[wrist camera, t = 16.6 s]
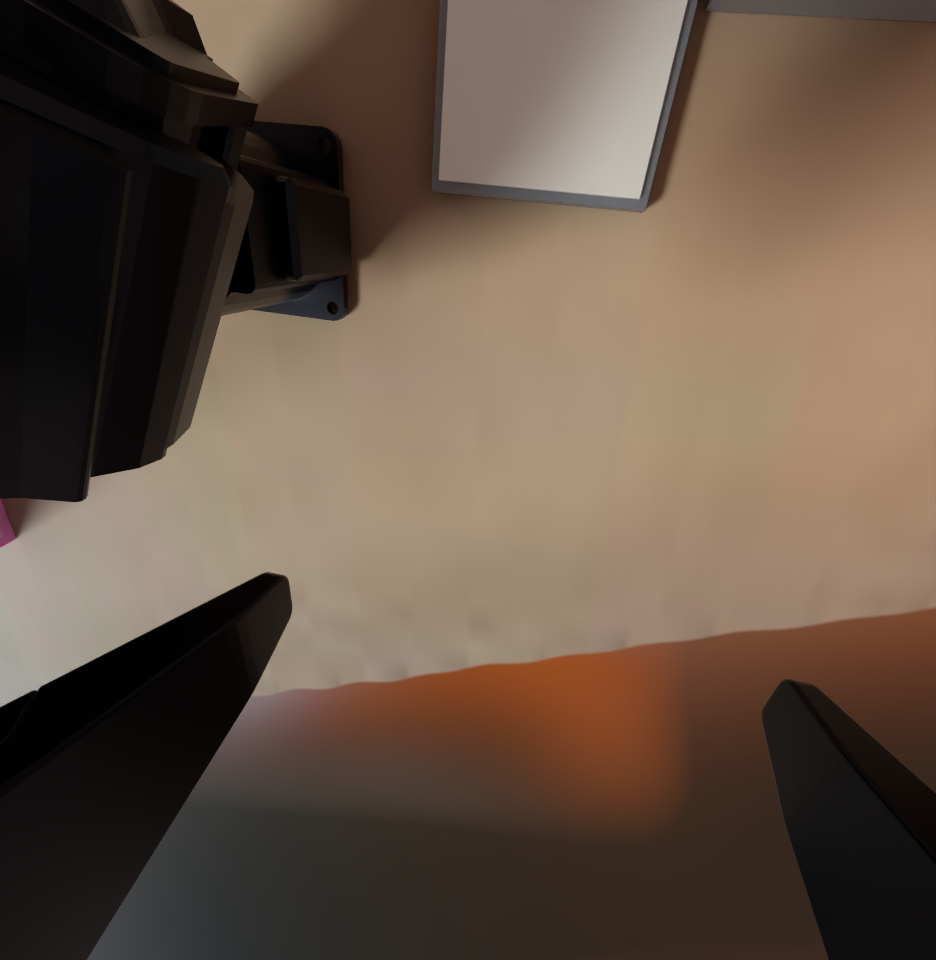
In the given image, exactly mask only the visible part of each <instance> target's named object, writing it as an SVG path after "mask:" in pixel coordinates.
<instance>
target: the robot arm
mask: <svg viewBox="0 0 936 960" xmlns="http://www.w3.org/2000/svg"><path fill="white" fill-rule="evenodd" d="M212 61H213V59H212V58H210V57H209V56H208V55H207V54H206V51H205V48H204V46H203V43H202V40H201V37H200V35H199V32H198V29H197V27H196V24H195V21H194V18H193V16H192V15H191V14H190V13H188V12H187V11H186V10H184V9H183V8H182V7H180V6H179V5H177V4H176V3H175V2H173V1H172V0H0V499H1V498H31V499H43V500H55V501H67V502H79V501H83V500H84V499H86V497H87V496H88V489H89V482H90V477H95V476H100V475H105V474H110V473H115V472H121V471H126V470H131V469H136V468H140V467H143V466H145V465H148V464H150V463H153V462H155V461H157V460H160V459H162V458H163V457H164V456H165V455H166V451H167V448H168V447H170V446H171V445H173V444H174V443H175V442H176V441H177V440H178V439H179V438H180V437H181V436H182V435H183V434H184V433H185V432H186V431H187V430H188V429H189V428H190V426H191V422H192V418H193V415H194V411H195V408H196V404H197V401H198V397H199V393H200V390H201V386H202V383H203V379H204V375H205V372H206V368H207V365H208V361H209V357H210V354H211V350H212V347H213V343H214V339H215V336H216V332H217V329H218V325H219V321H220V318H221V316H223V315H227V314H232V313H237V312H242V311H247V310H258V311H266V312H273V313H280V314H288V315H295V316H302V317H310V318H317V319H325V320H332V321H335V320H340V319H342V318H344V317H345V316H346V314H347V311H348V297H347V274H348V273H349V271H350V270H351V241H350V209H349V198H348V197H347V195H346V194H345V193H344V187H343V160H342V145H341V141H340V139H339V137H338V135H337V134H336V133H335V132H334V131H332V130H330V129H328V128H325V127H319V126H307V125H295V124H283V123H271V122H259V121H254V117H255V113H256V110H257V106H258V103H257V102H256V101H255V100H253V99H252V98H250V97H249V96H248V95H246V94H245V93H244V92H242V91H241V90H239V89H238V87H239V82H238V81H237V80H236V79H234V78H233V77H232V76H230V75H229V74H228V73H226V72H225V71H224V70H223V69H221V68H220V67H219V66H217V65H216V64H215V63H213V62H212ZM326 138H328V139H329V140H330V144H331V148H330V150H329V152H328V153H325V152H324V151H323V147H322V145H323V141H324V140H325V139H326ZM332 302H335V303H336V304H337V305H338V312H337V313H335V312H334V311H333V310H332V308H331V304H332ZM291 613H292V600H291V593H290V586H289V581H288V578H287V577H286V576H284V575H280V574H275V573H270V572H266V573H263V574H260V575H258V576H257V577H255V578H253V579H251V580H249V581H247V582H245V583H243V584H241V585H239V586H237V587H235V588H233V589H231V590H229V591H227V592H225V593H223V594H221V595H219V596H217V597H215V598H213V599H211V600H210V601H208V602H206V603H204V604H202V605H200V606H198V607H196V608H194V609H192V610H190V611H188V612H186V613H184V614H182V615H180V616H178V617H176V618H174V619H172V620H170V621H168V622H166V623H164V624H163V625H161V626H159V627H157V628H155V629H153V630H151V631H149V632H147V633H145V634H143V635H141V636H139V637H137V638H135V639H133V640H131V641H129V642H127V643H125V644H123V645H121V646H119V647H117V648H116V649H114V650H112V651H110V652H108V653H106V654H104V655H102V656H100V657H98V658H96V659H94V660H92V661H90V662H88V663H86V664H84V665H82V666H80V667H78V668H76V669H74V670H72V671H71V672H69V673H67V674H65V675H63V676H61V677H59V678H57V679H55V680H53V681H51V682H49V683H47V684H45V685H43V686H41V687H40V688H39V689H38V691H36V690H34V691H31V692H29V693H27V694H25V695H23V696H21V697H19V698H17V699H15V700H13V701H11V702H9V703H8V704H6V705H4V706H2V707H0V960H87V958H88V957H89V955H90V954H91V952H92V950H93V949H94V947H95V946H96V944H97V942H98V941H99V939H100V938H101V936H102V934H103V933H104V931H105V930H106V928H107V926H108V925H109V923H110V922H111V920H112V918H113V917H114V915H115V914H116V912H117V910H118V909H119V907H120V906H121V904H122V902H123V901H124V899H125V898H126V896H127V894H128V893H129V891H130V890H131V888H132V886H133V885H134V883H135V881H136V880H137V878H138V877H139V875H140V873H141V872H142V870H143V869H144V867H145V865H146V864H147V862H148V861H149V859H150V857H151V856H152V854H153V853H154V851H155V849H156V848H157V846H158V845H159V843H160V841H161V840H162V838H163V837H164V835H165V833H166V832H167V830H168V829H169V827H170V825H171V824H172V822H173V821H174V819H175V817H176V816H177V814H178V813H179V811H180V809H181V808H182V806H183V804H184V803H185V801H186V800H187V798H188V797H189V795H190V793H191V792H192V790H193V788H194V786H195V785H196V784H197V782H198V780H199V779H200V777H201V776H202V774H203V772H204V771H205V769H206V768H207V766H208V765H209V763H210V761H211V760H212V758H213V756H214V755H215V753H216V752H217V750H218V748H219V747H220V745H221V744H222V742H223V740H224V739H225V737H226V736H227V734H228V732H229V731H230V729H231V728H232V726H233V724H234V723H235V721H236V720H237V718H238V716H239V715H240V713H241V712H242V710H243V708H244V707H245V705H246V703H247V702H248V700H249V698H250V697H251V695H252V693H253V691H254V690H255V688H256V686H257V684H258V682H259V680H260V678H261V676H262V674H263V672H264V670H265V668H266V666H267V664H268V662H269V660H270V658H271V656H272V654H273V652H274V650H275V648H276V646H277V644H278V642H279V640H280V637H281V635H282V633H283V631H284V629H285V627H286V625H287V623H288V621H289V619H290V617H291ZM762 723H763V728H764V733H765V737H766V742H767V746H768V751H769V755H770V760H771V764H772V769H773V774H774V778H775V783H776V787H777V792H778V797H779V801H780V805H781V809H782V813H783V817H784V821H785V824H786V827H787V831H788V834H789V837H790V841H791V844H792V847H793V850H794V853H795V856H796V859H797V863H798V866H799V869H800V872H801V875H802V878H803V881H804V884H805V887H806V891H807V894H808V897H809V900H810V903H811V906H812V909H813V913H814V916H815V919H816V922H817V925H818V928H819V931H820V934H821V937H822V941H823V943H824V947H825V949H826V953H827V956H828V959H829V960H936V793H935V792H934V791H933V790H932V789H931V788H930V787H929V786H927V785H926V784H925V783H924V782H923V781H922V780H921V779H920V778H918V777H917V776H916V775H915V774H914V773H913V772H912V771H911V770H909V769H908V768H907V767H906V766H905V765H904V764H903V763H902V762H901V761H899V760H898V759H897V758H896V757H895V756H894V755H893V754H892V753H890V752H889V751H888V750H887V749H886V748H885V747H884V746H883V745H881V744H880V743H879V742H878V741H877V740H876V739H875V738H874V737H873V736H871V735H870V734H869V733H868V732H867V731H866V730H865V729H864V728H862V727H861V726H860V725H859V724H858V723H857V722H856V721H854V720H853V719H852V718H851V717H850V716H849V715H848V714H847V713H845V712H844V711H843V710H842V709H841V708H840V707H839V706H838V705H837V704H835V703H834V702H833V701H832V700H831V699H830V698H829V697H828V696H826V695H825V694H824V693H823V692H822V691H821V690H820V689H818V688H817V687H816V686H815V685H813V684H811V683H808V682H802V681H798V680H793V679H784V680H782V681H781V682H780V683H779V684H778V686H777V687H776V689H775V690H774V692H773V693H772V695H771V696H770V698H769V699H768V701H767V702H766V703H765V705H764V707H763V710H762Z"/></svg>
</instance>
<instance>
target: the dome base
mask: <svg viewBox="0 0 936 960" xmlns="http://www.w3.org/2000/svg"><path fill="white" fill-rule="evenodd" d="M705 11H714V12H735V13H756V14H777V15H797V16H818V17H839V18H860V19H881V20H902V21H922V22H936V0H708V2H707V6H706V10H705Z"/></svg>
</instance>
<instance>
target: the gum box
mask: <svg viewBox="0 0 936 960" xmlns="http://www.w3.org/2000/svg"><path fill="white" fill-rule="evenodd" d="M15 539H16V536H15V534H14V531H13V529H12V526H11V524H10V521H9V519H8V516H7V514H6V510H5V507H4V505H3V502H2V500H1V499H0V547H2V546H4V545H6V544H8V543H9V542H11V541H13V540H15Z"/></svg>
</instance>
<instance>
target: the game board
mask: <svg viewBox="0 0 936 960" xmlns="http://www.w3.org/2000/svg"><path fill="white" fill-rule="evenodd" d="M697 2H698V0H440V6H439V29H438V51H437V73H436V95H435V117H434V139H433V161H432V183H431V190H433V191H435V192H439V193H449V194H459V195H469V196H479V197H489V198H500V199H510V200H520V201H530V202H540V203H550V204H560V205H571V206H581V207H591V208H601V209H611V210H621V211H631V212H644V211H645V210H646V206H647V202H648V198H649V194H650V190H651V186H652V182H653V178H654V174H655V170H656V166H657V162H658V158H659V154H660V150H661V146H662V142H663V138H664V134H665V130H666V126H667V122H668V118H669V114H670V110H671V106H672V102H673V98H674V94H675V90H676V86H677V82H678V78H679V74H680V70H681V66H682V62H683V58H684V54H685V50H686V46H687V42H688V38H689V34H690V30H691V26H692V22H693V18H694V14H695V10H696V6H697Z"/></svg>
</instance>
